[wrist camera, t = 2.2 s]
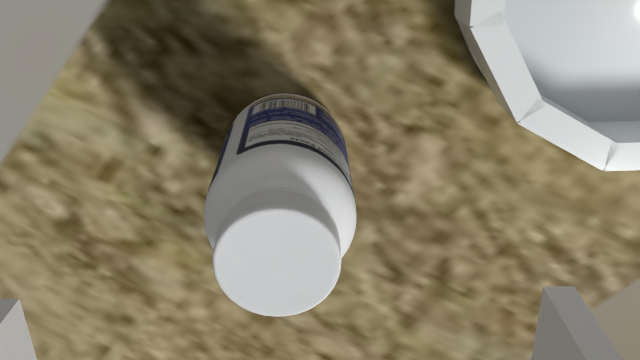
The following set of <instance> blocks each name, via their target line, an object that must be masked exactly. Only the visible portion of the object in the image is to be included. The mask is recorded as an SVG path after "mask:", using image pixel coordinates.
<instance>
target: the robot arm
mask: <svg viewBox="0 0 640 360" xmlns="http://www.w3.org/2000/svg"><path fill="white" fill-rule="evenodd" d="M0 360H37V358H36V355H35V351H34V348H33V344H32V341H31V338H30V334H29V331H28V327H27V324H26V320H25V317H24V313H23V310H22V307H21V303H20V300H19V299H0ZM532 360H623V359H622V357H621V356H620V354H619V353H618V351H617V350H616V348H615V347H614V345H613V344H612V342H611V341H610V339H609V338H608V336H607V335H606V333H605V332H604V330H603V329H602V327H601V326H600V324H599V323H598V321H597V320H596V318H595V317H594V316H593V314H592V312H591V311H590V309H589V308H588V306H587V305H586V303H585V302H584V300H583V299H582V297H581V296H580V294H579V293H578V291H577V290H576V288H575V287H574V286H564V287H543V292H542V298H541V304H540V311H539V317H538V323H537V329H536V335H535V341H534V348H533V354H532Z"/></svg>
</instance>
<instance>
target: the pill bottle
mask: <svg viewBox="0 0 640 360" xmlns="http://www.w3.org/2000/svg"><path fill="white" fill-rule="evenodd" d="M204 225H205V231H206V234H207V237H208V240H209V242H210V245H211V247H212V249H213V258H212V261H213V270H214V274H215V277H216V280H217V282H218V284H219V285H220V287H221V289H222V290H223V292H224V293H225V294H226V295H227V296H228V297H229V298H230V299H231V300H232V301H233V302H235V303H236V304H237V305H239V306H241V307H242V308H244V309H246V310H249V311H251V312H254V313H257V314H261V315H265V316H289V315H295V314H299V313H302V312H304V311H307V310H309V309H311V308H313V307H314V306H316V305H317V304H319V303H320V302H321V301H323V300H324V299H325V298H326V297H327V296H328V295H329V293H330V292H331V291H332V289H333V288H334V286H335V284H336V282H337V280H338V277H339V274H340V270H341V258H342V257H343V256H344V254H345V253H346V251H347V250H348V248H349V246H350V244H351V242H352V239H353V236H354V232H355V228H356V205H355V198H354V192H353V187H352V181H351V175H350V169H349V164H348V158H347V152H346V146H345V141H344V137H343V134H342V131H341V129H340V127H339V125H338V123H337V121H336V120H335V118H334V117H333V116H332V115H331V114H330V112H329V111H328V110H327V109H325V108H324V107H323V106H322V105H320V104H319V103H317V102H316V101H314V100H312V99H309V98H307V97H304V96H301V95H296V94H288V93H281V94H273V95H269V96H265V97H263V98H260V99H258V100H256V101H254V102H253V103H251V104H250V105H248V106H247V107H246V108H245V109H243V110H242V111H241V112H240V114H239V115H238V116H237V117H236V119H235V120H234V122H233V124H232V126H231V127H230V129H229V131H228V134H227V137H226V140H225V142H224V145H223V148H222V152H221V155H220V158H219V161H218V164H217V167H216V170H215V172H214V175H213V178H212V181H211V184H210V187H209V190H208V193H207V197H206V201H205V208H204Z"/></svg>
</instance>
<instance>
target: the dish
mask: <svg viewBox="0 0 640 360" xmlns="http://www.w3.org/2000/svg"><path fill="white" fill-rule="evenodd" d="M454 1H455V12H454V15H455V18H456V20H457V22H458V24H459V26H460V28H461V32H462V35H463V38H464V40H465V42H466V45H467V47H468V49H469V52H470V54H471V56H472V58H473V60H474V61H475V63H476V65H477V66H478V68H479V70H480V71H481V73H482V75H483V76H484V77H485V78H486V80H487V82H488V84H489V86H490V88H491V90H492V92H493V94H494V96H495V98H496V100H497V102H498V103H499V104H500V105H501V107H502V108H503V109H504V110H505V111H506V112H507V113H508V114H509V115H510V116H511V117H512V118H513V119H514V120H515V121H516V122H517V123H518V124H519V125H521V126H523V127H525V128H526V129H528V130H530V131H532V132H534V133H535V134H537V135H539V136H541V137H543V138H544V139H546V140H548V141H550V142H552V143H553V144H555V145H557V146H559V147H561V148H562V149H564V150H566V151H568V152H570V153H571V154H573V155H575V156H577V157H579V158H580V159H582V160H584V161H586V162H588V163H589V164H591V165H593V166H595V167H597V168H598V169H600V170H602V171H603V170H604V171H625V170H640V0H454Z"/></svg>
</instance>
